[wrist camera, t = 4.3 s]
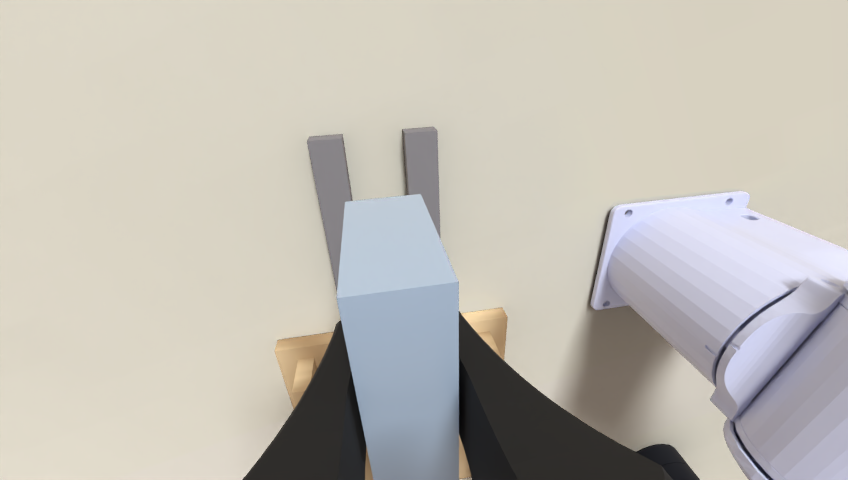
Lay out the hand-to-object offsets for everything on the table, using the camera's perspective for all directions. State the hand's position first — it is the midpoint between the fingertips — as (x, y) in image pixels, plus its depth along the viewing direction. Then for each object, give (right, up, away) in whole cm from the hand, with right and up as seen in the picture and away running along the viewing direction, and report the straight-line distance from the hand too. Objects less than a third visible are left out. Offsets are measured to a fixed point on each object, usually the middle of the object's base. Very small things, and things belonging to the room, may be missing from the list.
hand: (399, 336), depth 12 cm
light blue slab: (0, +1, +2) cm, 2 cm away
